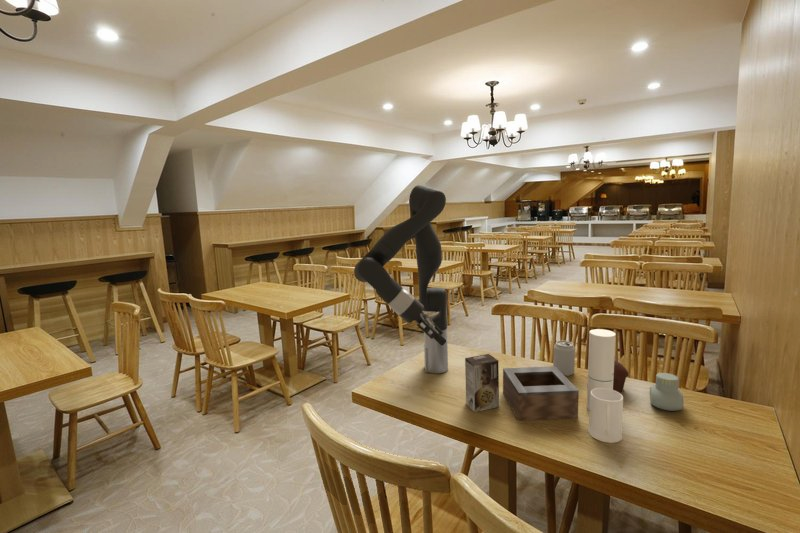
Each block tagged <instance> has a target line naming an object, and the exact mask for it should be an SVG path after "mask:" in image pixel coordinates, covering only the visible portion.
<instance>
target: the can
mask: <svg viewBox="0 0 800 533" xmlns="http://www.w3.org/2000/svg"><path fill="white" fill-rule="evenodd" d="M552 362H553V364H552V366H555V367H556V368H557V369H558V370H559V371H560V372H561V373H562V374H563V375H564V376H565V377H569V376H572V375H573V374H575V362H576V347H575V346H574V343H573V342H571V341H567V340H558V341H556V342H555V344H554V345H553V361H552Z"/></svg>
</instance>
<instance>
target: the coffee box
mask: <svg viewBox="0 0 800 533" xmlns="http://www.w3.org/2000/svg"><path fill="white" fill-rule="evenodd" d="M464 364H465V365H464V366H465V369H464V370H465V371H464V372H465V373H464V374H465V404H466V405H467V406H468V407H469V408H470V409H471V410H472V411H473V412H474V413H478V412H482V411H485V410H487V411H488V410H491V409H495V408H499V407H500V388H499V387H500V386H499V385H500V382H499V378H500V377H499V371H500V370H499V359H496V358H495V357H494V356H493V355H491V354H490V353H486V354H480V355H474V356H470V357H465V358H464Z"/></svg>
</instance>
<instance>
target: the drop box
mask: <svg viewBox="0 0 800 533" xmlns="http://www.w3.org/2000/svg"><path fill="white" fill-rule="evenodd" d="M502 393H503V396H504V397H505V399H506V400H507V403H508V405H509V406H510V408H511V409H512V411H513V413H514V415H515V417H516V419H517V420H518V422H519V421H522V422H523V421H539V420H540V421H541V420H542V421H545V420H565V419H566V420H567V419H569V420H570V419H571V420H572V419H579V397H580V396H579V395H580V392H579V389H578V388H577V387H576V386H575V385H574V384H573V383H572V382H571V381H570V380H569V379H568V378H567V376H564V375H563V374H562V373H561V372H560V371H559V370H558V369H557V368H556V367H555V366H553V365H551V366H550V365H548V366H531V367H530V366H527V367H504V368H502Z"/></svg>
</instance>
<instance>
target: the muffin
mask: <svg viewBox="0 0 800 533" xmlns="http://www.w3.org/2000/svg"><path fill="white" fill-rule="evenodd" d="M629 373H630V372H629V371H628V369H627V368H626V367H625V366H624V365H623V364H622V363H621V362H619V361H618V360H615V359H614V378H613V390H615V391H617V392H619V393H620V394H623V391H624V387H625V383H626V379H627V377H629V376H630V374H629Z"/></svg>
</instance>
